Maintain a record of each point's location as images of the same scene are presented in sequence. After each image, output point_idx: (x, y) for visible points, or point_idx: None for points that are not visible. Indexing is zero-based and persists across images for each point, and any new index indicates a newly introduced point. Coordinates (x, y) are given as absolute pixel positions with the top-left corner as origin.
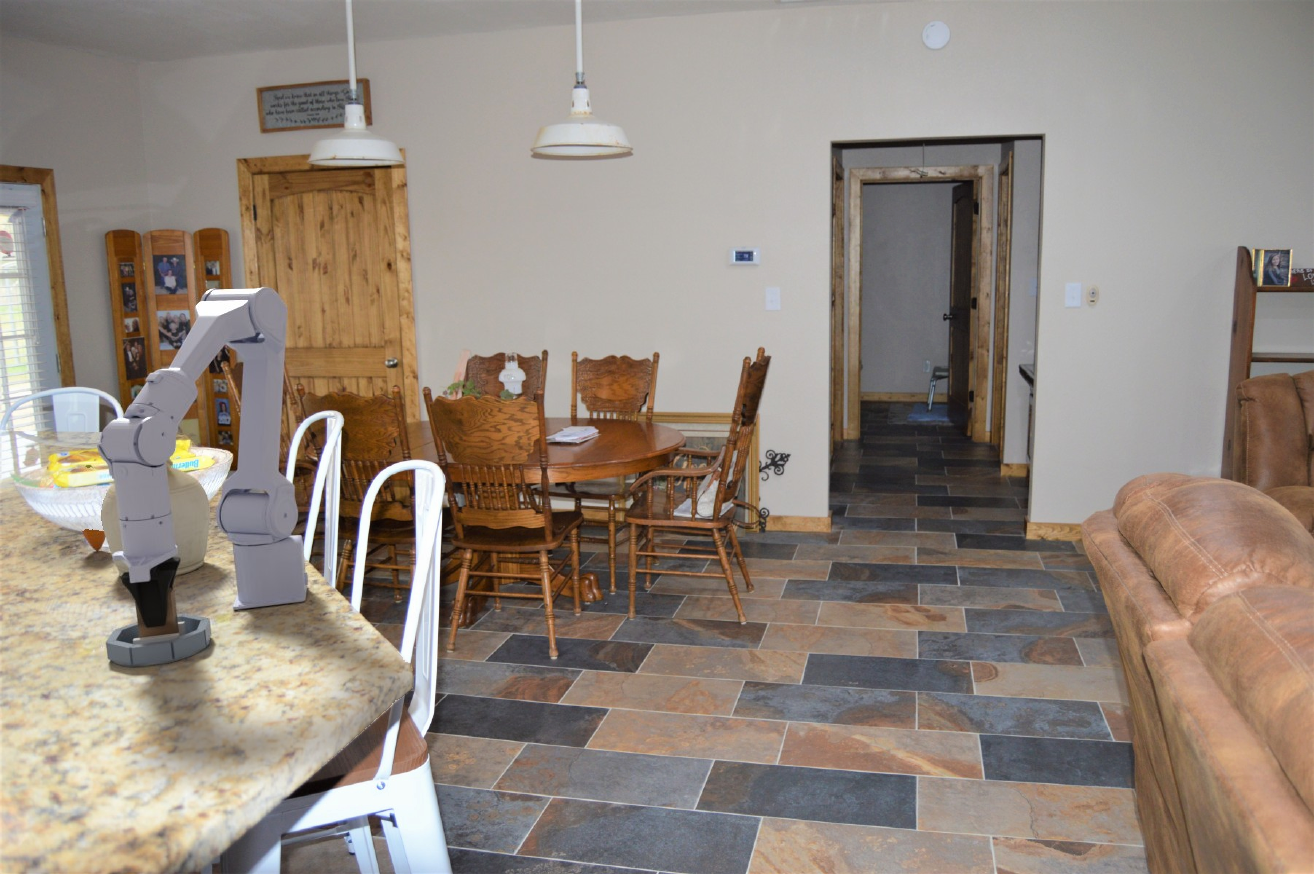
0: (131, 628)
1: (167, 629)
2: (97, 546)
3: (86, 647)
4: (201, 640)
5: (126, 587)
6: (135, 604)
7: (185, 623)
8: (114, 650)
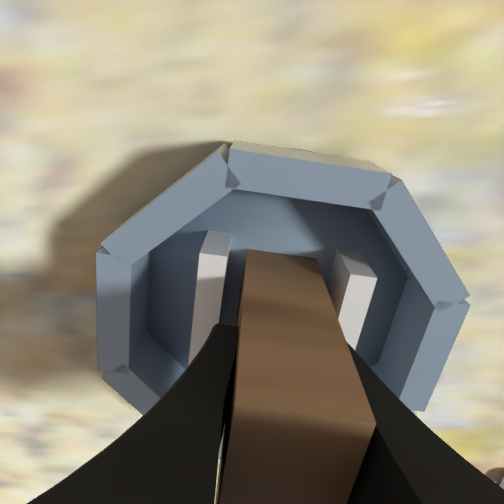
0: (391, 241)
1: None
2: None
3: (481, 36)
4: None
5: (38, 496)
6: (239, 368)
7: None
8: (181, 178)
